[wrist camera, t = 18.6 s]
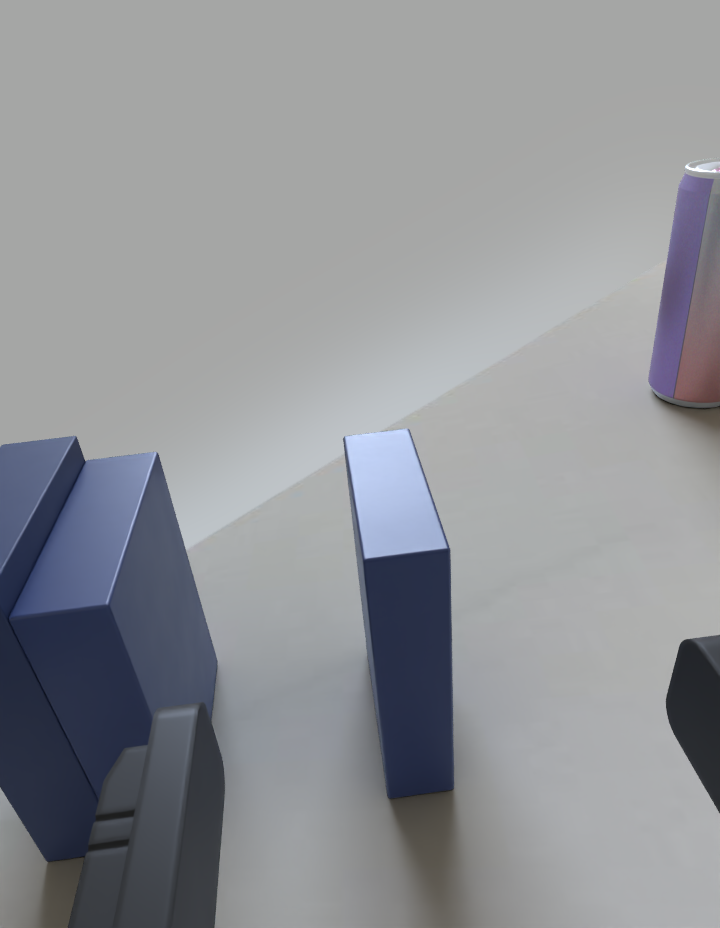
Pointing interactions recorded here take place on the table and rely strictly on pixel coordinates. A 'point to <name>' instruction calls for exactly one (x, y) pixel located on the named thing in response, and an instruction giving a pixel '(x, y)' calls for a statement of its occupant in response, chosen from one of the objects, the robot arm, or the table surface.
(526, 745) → the table surface
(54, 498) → the navy books
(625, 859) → the table surface
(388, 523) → the navy book
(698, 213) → the beverage can
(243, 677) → the table surface
